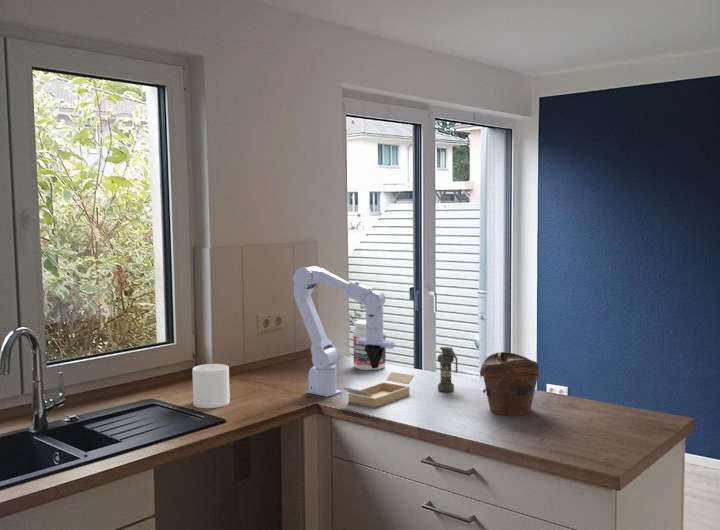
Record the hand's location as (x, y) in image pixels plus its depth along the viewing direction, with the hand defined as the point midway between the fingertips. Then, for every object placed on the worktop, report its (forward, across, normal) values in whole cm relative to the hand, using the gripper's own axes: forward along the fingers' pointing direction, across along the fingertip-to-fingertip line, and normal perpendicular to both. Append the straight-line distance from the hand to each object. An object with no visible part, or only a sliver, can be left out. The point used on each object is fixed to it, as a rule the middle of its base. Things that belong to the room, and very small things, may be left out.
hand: (375, 367), depth 241 cm
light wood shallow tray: (+10, +2, 0) cm, 10 cm away
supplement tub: (+10, -30, +34) cm, 47 cm away
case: (+10, +42, +14) cm, 46 cm away
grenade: (+10, +14, +22) cm, 28 cm away
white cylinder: (+10, -39, -38) cm, 55 cm away
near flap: (+5, +2, -12) cm, 13 cm away
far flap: (+5, +2, +11) cm, 13 cm away
